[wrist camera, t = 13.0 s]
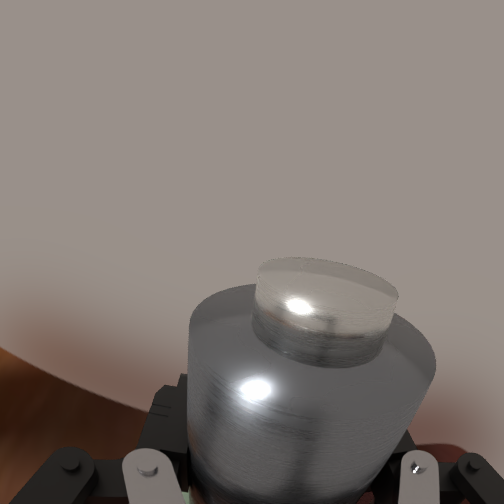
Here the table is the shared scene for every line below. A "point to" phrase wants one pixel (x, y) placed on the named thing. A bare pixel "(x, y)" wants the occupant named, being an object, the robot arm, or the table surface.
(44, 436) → the table surface
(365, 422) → the bottle
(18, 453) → the table surface
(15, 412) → the table surface
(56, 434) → the table surface
